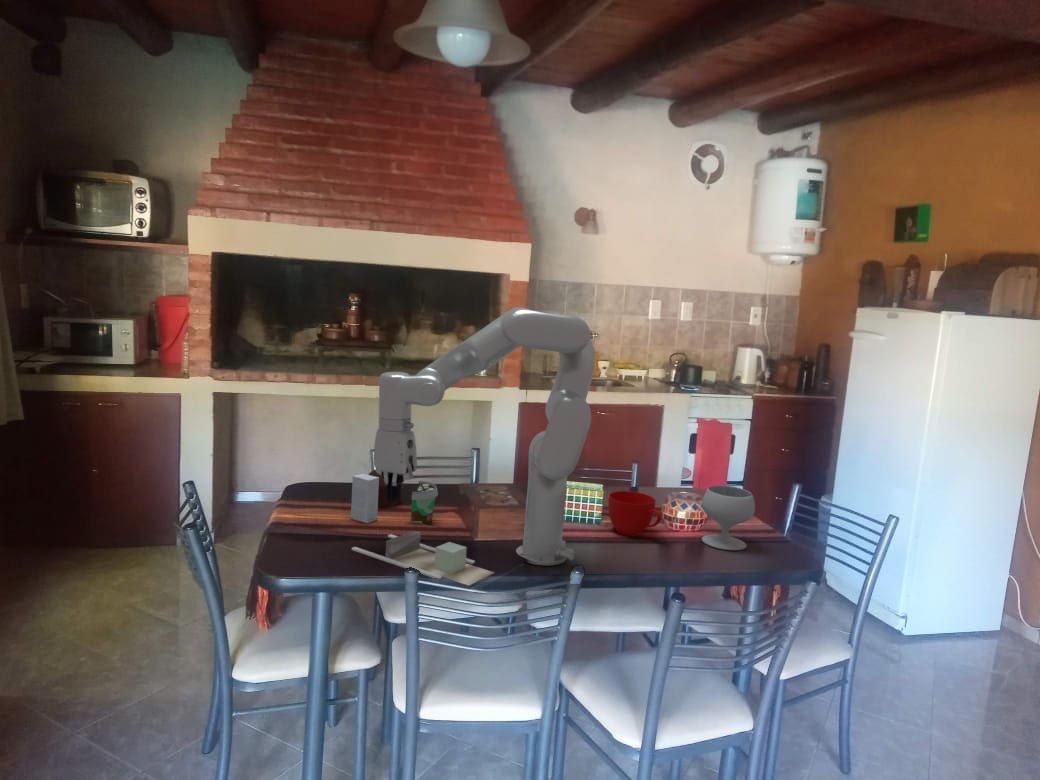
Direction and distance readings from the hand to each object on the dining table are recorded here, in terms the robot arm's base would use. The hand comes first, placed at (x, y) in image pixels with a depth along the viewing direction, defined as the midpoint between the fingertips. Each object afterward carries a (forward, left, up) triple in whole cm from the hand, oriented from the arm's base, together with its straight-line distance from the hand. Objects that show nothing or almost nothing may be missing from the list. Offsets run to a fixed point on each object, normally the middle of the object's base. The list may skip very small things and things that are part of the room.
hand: (393, 500), depth 182 cm
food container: (+9, -23, -13) cm, 28 cm away
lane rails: (-7, +1, -13) cm, 15 cm away
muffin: (+29, -28, -13) cm, 42 cm away
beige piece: (-15, +1, -13) cm, 20 cm away
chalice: (-60, -68, -13) cm, 92 cm away
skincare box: (+22, -13, -13) cm, 29 cm away
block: (-18, +1, -12) cm, 22 cm away
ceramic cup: (-38, -57, -13) cm, 70 cm away
